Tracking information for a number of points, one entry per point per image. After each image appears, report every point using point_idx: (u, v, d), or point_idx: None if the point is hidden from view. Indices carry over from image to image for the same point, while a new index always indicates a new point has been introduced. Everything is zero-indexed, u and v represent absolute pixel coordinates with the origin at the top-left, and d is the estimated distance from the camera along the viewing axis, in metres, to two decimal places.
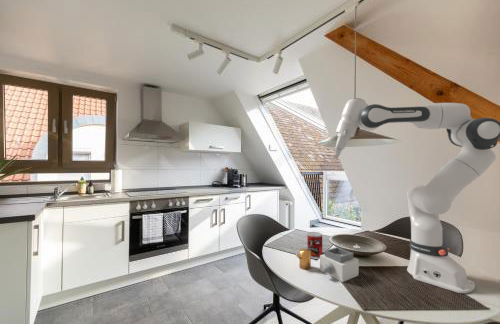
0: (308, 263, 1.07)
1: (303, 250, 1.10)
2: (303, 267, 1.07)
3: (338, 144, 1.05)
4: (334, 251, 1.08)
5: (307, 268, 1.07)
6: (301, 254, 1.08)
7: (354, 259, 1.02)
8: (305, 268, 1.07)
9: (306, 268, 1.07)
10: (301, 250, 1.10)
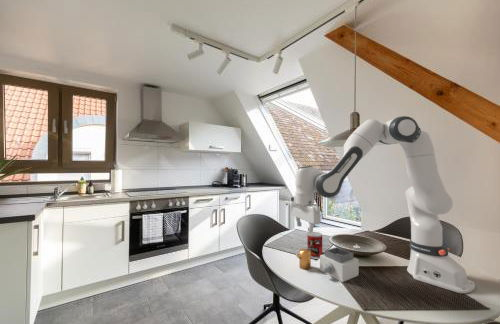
0: (308, 263, 1.07)
1: (303, 250, 1.10)
2: (303, 267, 1.07)
3: (315, 221, 1.00)
4: (334, 251, 1.08)
5: (307, 268, 1.07)
6: (301, 254, 1.08)
7: (354, 259, 1.02)
8: (305, 268, 1.07)
9: (306, 268, 1.07)
10: (301, 250, 1.10)
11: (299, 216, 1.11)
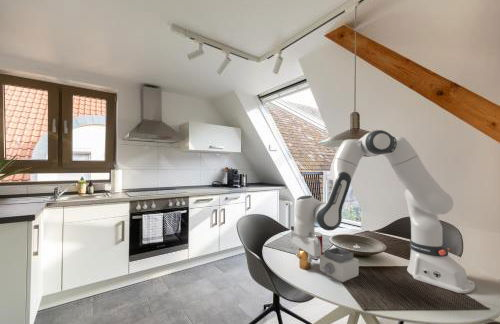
0: (308, 263, 1.07)
1: (303, 250, 1.10)
2: (303, 267, 1.07)
3: (316, 254, 1.00)
4: (334, 251, 1.08)
5: (307, 268, 1.07)
6: (301, 254, 1.08)
7: (354, 259, 1.02)
8: (305, 268, 1.07)
9: (306, 268, 1.07)
10: (301, 250, 1.10)
11: (299, 246, 1.11)
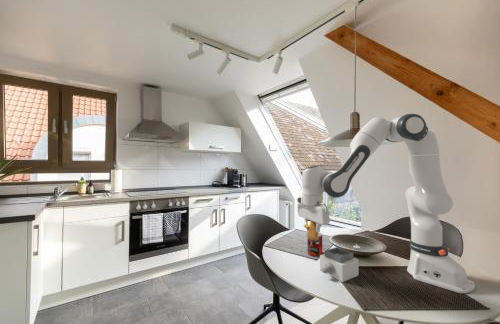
0: (316, 233, 1.06)
1: (311, 221, 1.08)
2: (311, 237, 1.06)
3: (324, 222, 0.99)
4: (334, 251, 1.08)
5: (315, 239, 1.06)
6: (309, 224, 1.07)
7: (354, 259, 1.02)
8: (313, 238, 1.06)
9: (314, 238, 1.06)
10: (309, 221, 1.08)
11: (307, 217, 1.09)
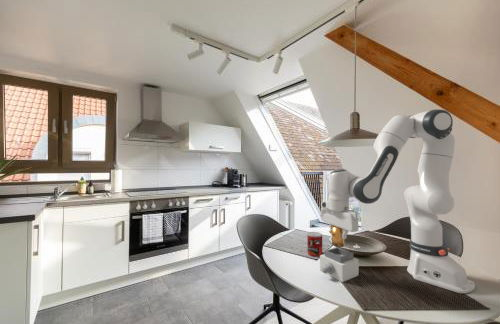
0: (342, 240, 1.02)
1: (336, 227, 1.04)
2: (337, 244, 1.02)
3: (353, 229, 0.94)
4: (334, 251, 1.08)
5: (341, 246, 1.01)
6: (335, 230, 1.02)
7: (354, 259, 1.02)
8: (339, 245, 1.01)
9: (340, 245, 1.01)
10: (334, 227, 1.04)
11: (332, 223, 1.05)
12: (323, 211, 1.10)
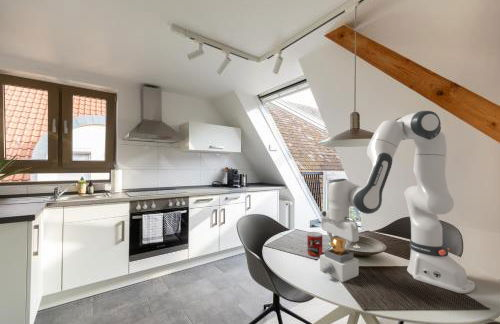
0: (343, 252, 1.02)
1: (337, 239, 1.04)
2: None
3: (353, 239, 0.94)
4: None
5: None
6: (335, 243, 1.02)
7: (354, 259, 1.02)
8: None
9: None
10: (335, 239, 1.04)
11: (332, 232, 1.05)
12: (323, 220, 1.10)
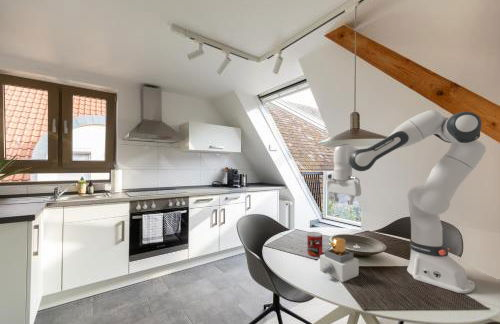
0: (343, 252, 1.01)
1: (337, 239, 1.04)
2: None
3: (356, 193, 1.09)
4: None
5: None
6: (335, 243, 1.02)
7: (354, 259, 1.02)
8: None
9: None
10: (335, 239, 1.04)
11: (337, 191, 1.19)
12: (329, 182, 1.25)
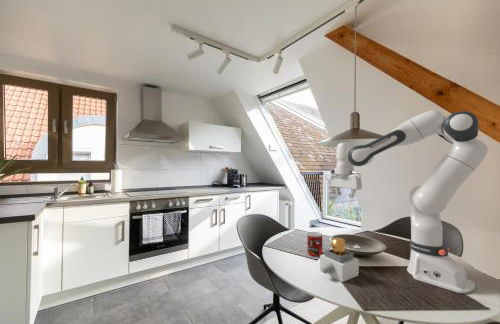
0: (343, 252, 1.01)
1: (336, 239, 1.04)
2: None
3: (357, 187, 1.16)
4: None
5: None
6: (335, 243, 1.02)
7: (354, 259, 1.02)
8: None
9: None
10: (334, 239, 1.04)
11: (340, 185, 1.27)
12: (332, 177, 1.33)
